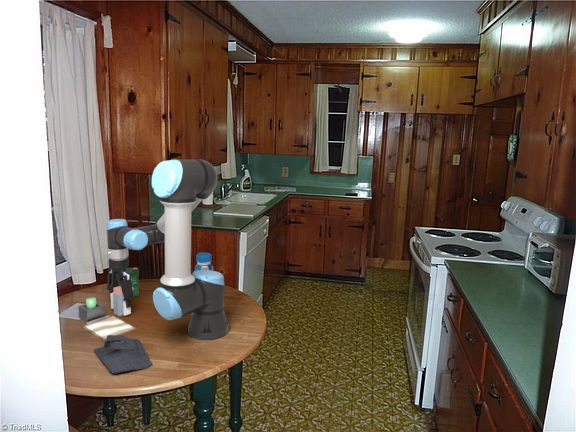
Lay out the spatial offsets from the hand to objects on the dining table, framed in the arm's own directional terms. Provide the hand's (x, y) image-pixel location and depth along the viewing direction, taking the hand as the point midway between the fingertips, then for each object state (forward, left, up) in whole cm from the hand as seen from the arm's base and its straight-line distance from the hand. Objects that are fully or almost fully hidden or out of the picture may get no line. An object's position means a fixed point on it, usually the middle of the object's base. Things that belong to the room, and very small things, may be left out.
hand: (120, 310), depth 174 cm
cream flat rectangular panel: (-9, +10, -1) cm, 13 cm away
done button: (+4, +10, +2) cm, 11 cm away
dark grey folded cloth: (-33, +18, -2) cm, 37 cm away
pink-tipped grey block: (0, 0, -1) cm, 1 cm away
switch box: (+4, +10, -1) cm, 11 cm away
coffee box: (+14, -12, -1) cm, 18 cm away
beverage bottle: (-10, -35, -1) cm, 36 cm away
